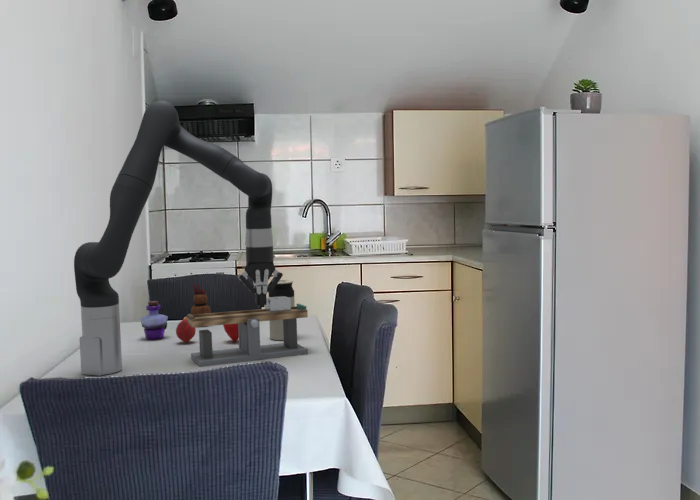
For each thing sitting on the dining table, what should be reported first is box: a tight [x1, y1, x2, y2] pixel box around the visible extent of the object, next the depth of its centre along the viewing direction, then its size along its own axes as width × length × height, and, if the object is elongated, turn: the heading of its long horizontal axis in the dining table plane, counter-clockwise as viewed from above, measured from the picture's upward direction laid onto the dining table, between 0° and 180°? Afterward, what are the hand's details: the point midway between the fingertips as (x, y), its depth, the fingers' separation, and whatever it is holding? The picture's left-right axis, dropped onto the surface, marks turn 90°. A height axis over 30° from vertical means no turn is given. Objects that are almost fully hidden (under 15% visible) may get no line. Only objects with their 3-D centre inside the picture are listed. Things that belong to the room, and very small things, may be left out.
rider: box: [264, 296, 291, 313], centre depth 190 cm, size 6×5×4 cm
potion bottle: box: [139, 300, 169, 341], centre depth 215 cm, size 9×9×12 cm
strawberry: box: [223, 310, 239, 343], centre depth 206 cm, size 6×8×10 cm
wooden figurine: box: [190, 283, 212, 315], centre depth 235 cm, size 7×6×15 cm
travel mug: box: [267, 279, 296, 342], centre depth 210 cm, size 8×8×18 cm
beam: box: [186, 303, 309, 328], centre depth 187 cm, size 32×8×3 cm, turn 113°
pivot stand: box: [190, 318, 309, 367], centre depth 187 cm, size 30×14×11 cm, turn 113°
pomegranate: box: [175, 316, 196, 344], centre depth 207 cm, size 6×6×8 cm
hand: (261, 306), depth 188 cm, fingers closed
